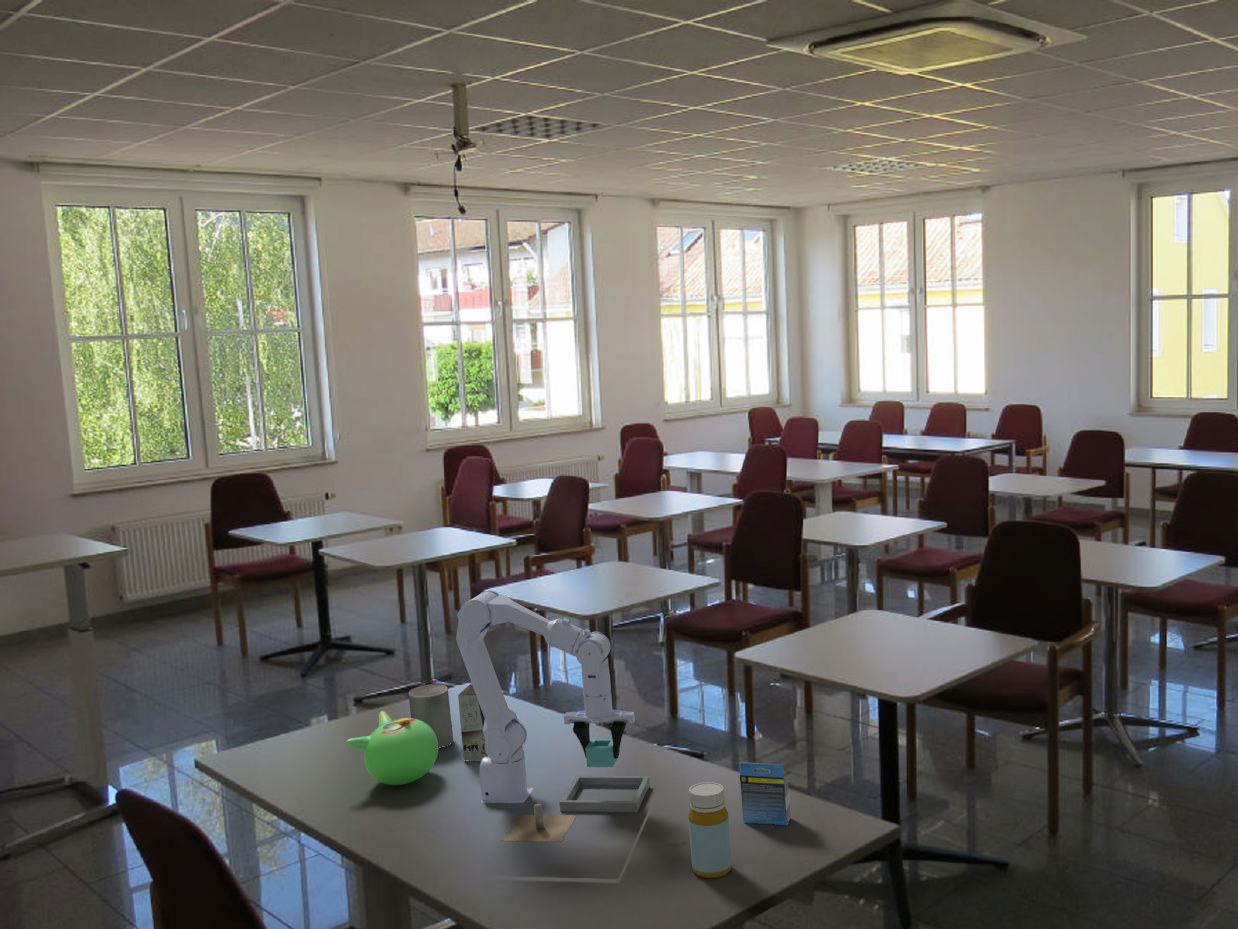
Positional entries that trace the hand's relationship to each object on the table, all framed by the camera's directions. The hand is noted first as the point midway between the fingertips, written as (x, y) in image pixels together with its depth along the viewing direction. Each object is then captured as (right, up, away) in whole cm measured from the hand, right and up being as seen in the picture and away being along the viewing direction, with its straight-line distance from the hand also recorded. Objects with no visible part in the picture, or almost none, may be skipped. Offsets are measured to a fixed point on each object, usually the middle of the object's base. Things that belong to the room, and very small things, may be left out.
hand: (602, 756), depth 234 cm
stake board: (-12, -12, -11) cm, 20 cm away
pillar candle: (-42, -9, +44) cm, 61 cm away
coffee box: (-29, -9, +34) cm, 45 cm away
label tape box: (+32, -9, -15) cm, 36 cm away
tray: (+1, -9, +1) cm, 9 cm away
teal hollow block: (0, -1, 0) cm, 1 cm away
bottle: (+20, -12, -34) cm, 41 cm away
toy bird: (-46, -11, +21) cm, 51 cm away
